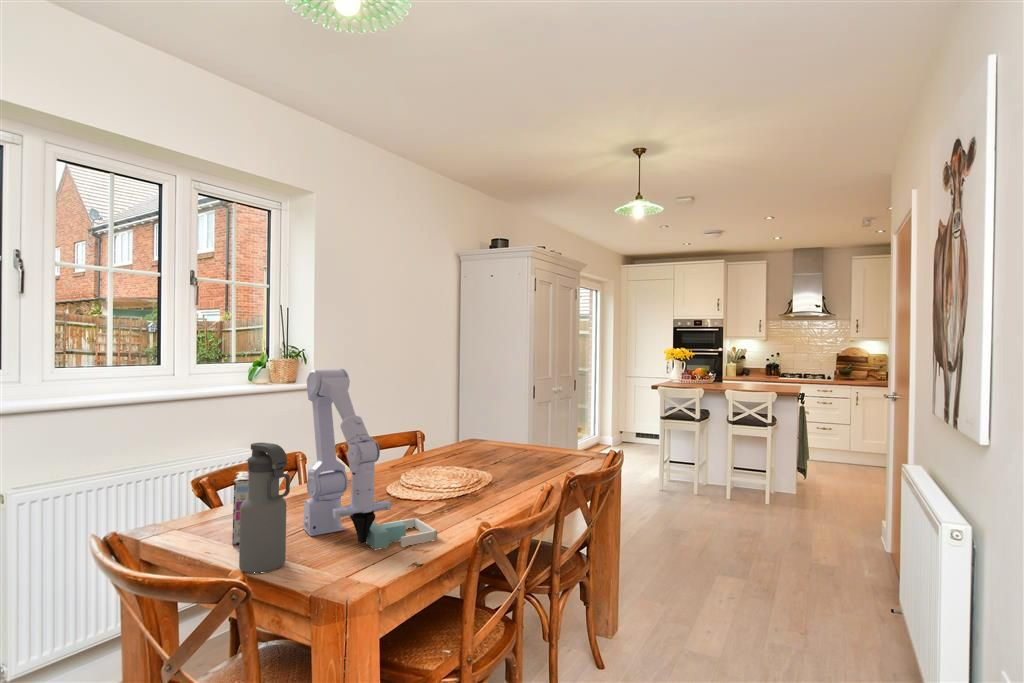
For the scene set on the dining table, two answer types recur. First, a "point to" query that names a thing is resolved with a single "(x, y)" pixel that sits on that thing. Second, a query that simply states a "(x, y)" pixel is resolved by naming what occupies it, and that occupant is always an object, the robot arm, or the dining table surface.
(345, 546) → the dining table surface
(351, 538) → the dining table surface
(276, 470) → the water bottle
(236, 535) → the candy bar box
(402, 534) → the t block
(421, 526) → the white u-shaped bracket
